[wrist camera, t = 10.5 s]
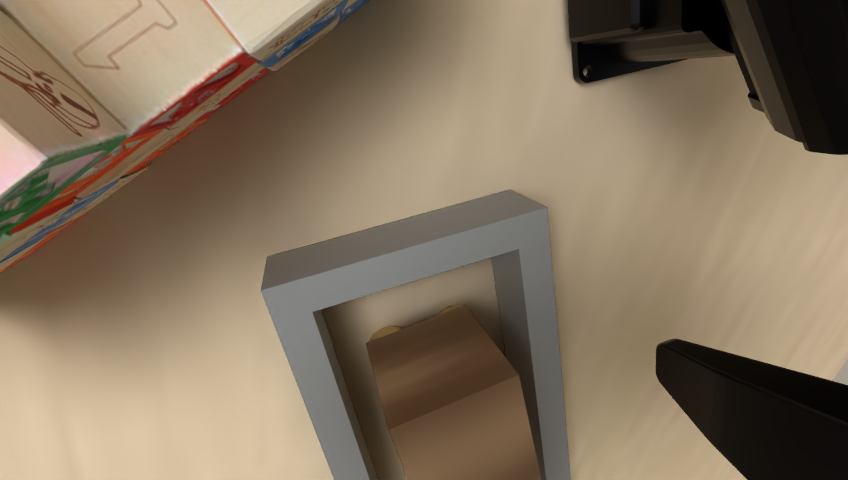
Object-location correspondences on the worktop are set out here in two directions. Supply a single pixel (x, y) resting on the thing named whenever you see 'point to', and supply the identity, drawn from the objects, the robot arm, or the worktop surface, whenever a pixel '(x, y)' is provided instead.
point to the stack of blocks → (122, 92)
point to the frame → (422, 257)
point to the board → (453, 402)
